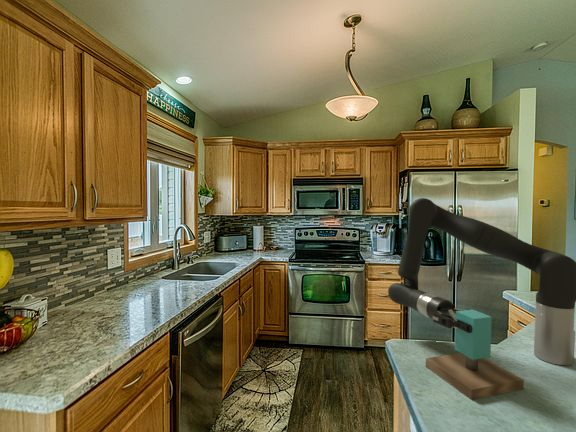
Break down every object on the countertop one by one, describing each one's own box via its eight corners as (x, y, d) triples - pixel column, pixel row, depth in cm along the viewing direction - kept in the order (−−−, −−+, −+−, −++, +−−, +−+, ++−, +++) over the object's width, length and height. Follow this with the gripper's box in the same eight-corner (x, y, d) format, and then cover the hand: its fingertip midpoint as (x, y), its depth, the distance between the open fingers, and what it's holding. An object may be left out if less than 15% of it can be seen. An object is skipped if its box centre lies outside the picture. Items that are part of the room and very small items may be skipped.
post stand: (471, 359, 95) (472, 321, 95) (523, 388, 80) (525, 343, 80) (425, 366, 91) (426, 326, 90) (471, 399, 75) (472, 351, 75)
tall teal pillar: (471, 346, 89) (472, 309, 88) (490, 356, 83) (491, 316, 83) (454, 349, 87) (455, 311, 87) (472, 359, 81) (473, 319, 81)
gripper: (416, 298, 97) (459, 317, 80) (453, 294, 100) (502, 312, 84) (415, 321, 97) (458, 345, 81) (453, 317, 101) (501, 338, 85)
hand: (480, 328), depth 83 cm, fingers closed on tall teal pillar, 6 cm apart
